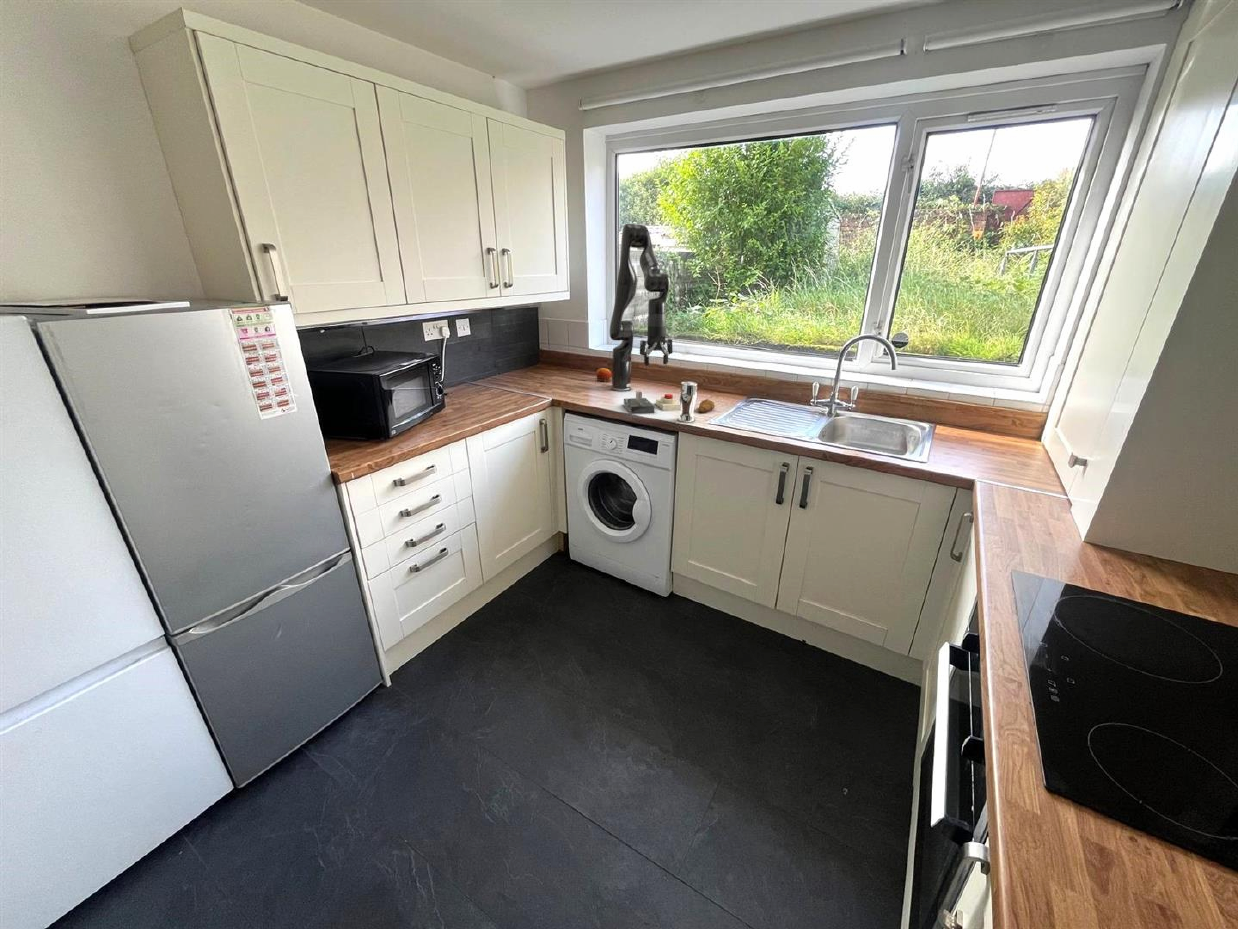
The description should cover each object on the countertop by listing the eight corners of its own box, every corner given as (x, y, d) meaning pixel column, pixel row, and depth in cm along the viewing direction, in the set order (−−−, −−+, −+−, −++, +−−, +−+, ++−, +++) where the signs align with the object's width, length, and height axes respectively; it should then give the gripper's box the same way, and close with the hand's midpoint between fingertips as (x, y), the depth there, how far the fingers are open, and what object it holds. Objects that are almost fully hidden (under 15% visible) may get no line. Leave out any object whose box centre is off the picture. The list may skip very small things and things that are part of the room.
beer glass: (674, 419, 201) (676, 383, 195) (684, 416, 206) (687, 380, 200) (688, 423, 196) (691, 385, 191) (698, 420, 201) (701, 383, 196)
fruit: (594, 379, 261) (595, 365, 263) (596, 384, 269) (598, 370, 270) (609, 380, 260) (610, 366, 261) (611, 385, 268) (612, 371, 269)
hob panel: (623, 405, 220) (623, 398, 219) (645, 404, 222) (645, 397, 221) (631, 413, 208) (631, 406, 206) (654, 412, 210) (654, 405, 209)
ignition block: (655, 403, 224) (656, 395, 222) (672, 403, 226) (673, 394, 224) (663, 410, 214) (663, 401, 212) (680, 409, 216) (681, 400, 214)
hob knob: (635, 400, 216) (636, 389, 214) (638, 400, 216) (639, 389, 214) (638, 403, 212) (638, 392, 210) (641, 403, 212) (642, 392, 210)
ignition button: (663, 397, 220) (663, 393, 219) (671, 397, 220) (671, 393, 220) (665, 399, 216) (666, 395, 216) (673, 399, 217) (673, 395, 217)
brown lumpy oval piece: (709, 415, 209) (710, 403, 207) (693, 412, 212) (694, 401, 210) (719, 407, 220) (720, 396, 218) (704, 405, 223) (705, 394, 221)
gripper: (667, 324, 211) (666, 363, 216) (637, 325, 206) (637, 364, 211) (676, 325, 205) (675, 365, 210) (645, 326, 199) (644, 367, 204)
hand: (656, 364), depth 210 cm, fingers open, 8 cm apart
